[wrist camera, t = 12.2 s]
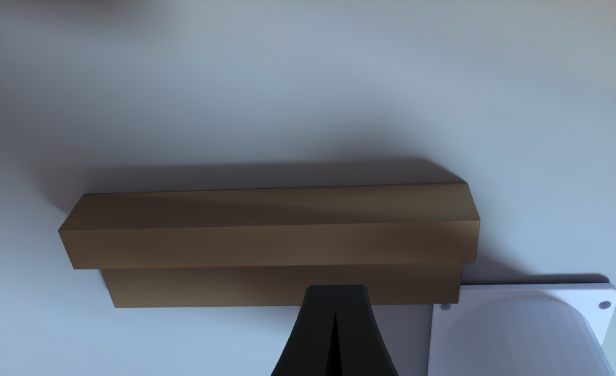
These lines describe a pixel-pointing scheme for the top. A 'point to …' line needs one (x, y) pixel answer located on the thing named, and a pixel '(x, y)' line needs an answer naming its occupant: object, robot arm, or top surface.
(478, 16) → the top surface
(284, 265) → the wooden stepped rails
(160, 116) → the top surface
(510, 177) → the top surface
